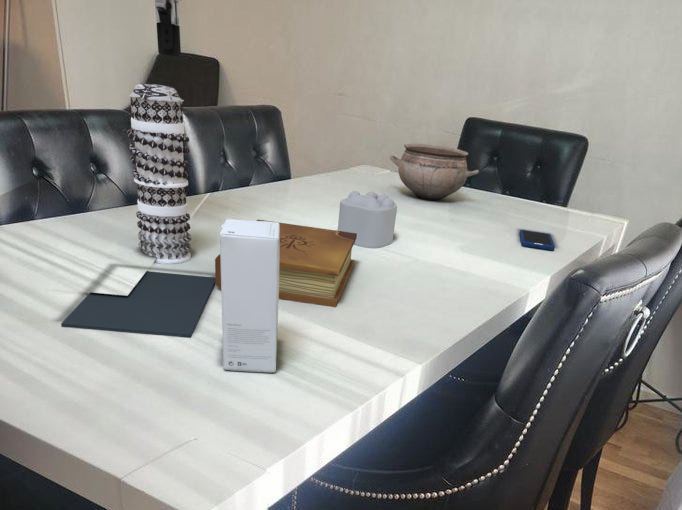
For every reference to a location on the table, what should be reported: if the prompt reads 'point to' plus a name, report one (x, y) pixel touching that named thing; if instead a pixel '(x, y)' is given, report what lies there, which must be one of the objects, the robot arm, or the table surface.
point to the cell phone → (536, 240)
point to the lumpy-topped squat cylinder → (368, 218)
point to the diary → (310, 264)
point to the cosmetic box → (250, 294)
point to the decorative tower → (160, 172)
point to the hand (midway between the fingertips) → (169, 54)
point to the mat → (147, 306)
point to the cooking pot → (432, 170)
